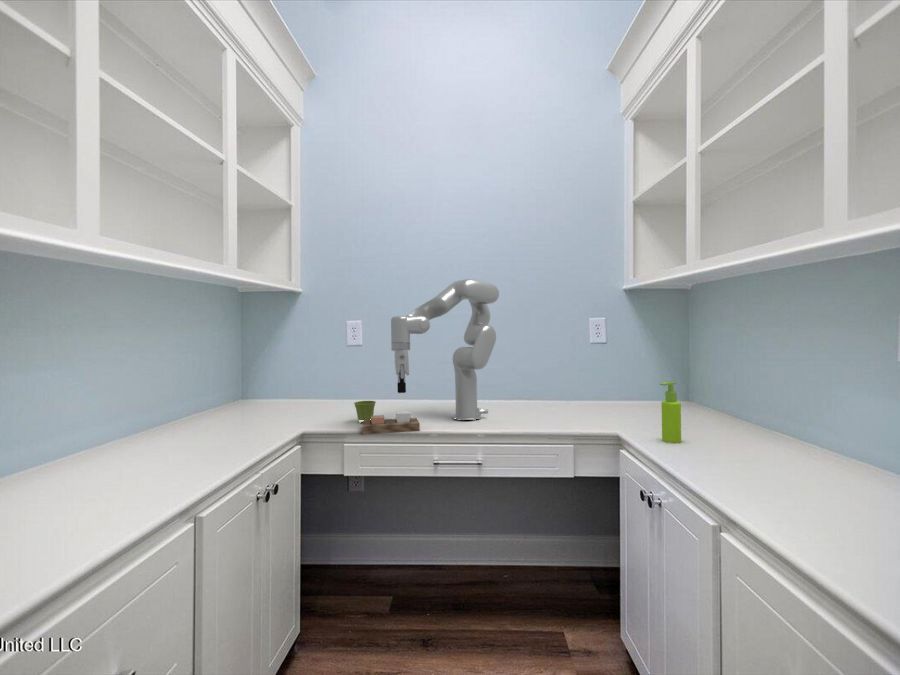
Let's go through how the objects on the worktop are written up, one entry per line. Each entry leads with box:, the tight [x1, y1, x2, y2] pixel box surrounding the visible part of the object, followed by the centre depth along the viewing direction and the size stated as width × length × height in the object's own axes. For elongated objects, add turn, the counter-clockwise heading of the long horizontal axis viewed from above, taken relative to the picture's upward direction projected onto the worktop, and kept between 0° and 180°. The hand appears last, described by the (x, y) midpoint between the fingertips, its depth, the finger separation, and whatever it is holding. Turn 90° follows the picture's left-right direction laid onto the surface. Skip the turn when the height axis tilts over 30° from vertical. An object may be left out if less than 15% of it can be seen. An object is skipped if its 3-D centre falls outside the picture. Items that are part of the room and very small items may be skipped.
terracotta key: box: [371, 414, 385, 424], centre depth 182 cm, size 5×5×4 cm
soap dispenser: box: [659, 381, 682, 444], centre depth 155 cm, size 6×7×20 cm
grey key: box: [395, 410, 411, 423], centre depth 184 cm, size 5×5×4 cm
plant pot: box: [353, 400, 377, 420], centre depth 199 cm, size 9×9×9 cm
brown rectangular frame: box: [361, 417, 421, 435], centre depth 183 cm, size 22×12×3 cm, turn 100°
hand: (401, 392), depth 184 cm, fingers closed
